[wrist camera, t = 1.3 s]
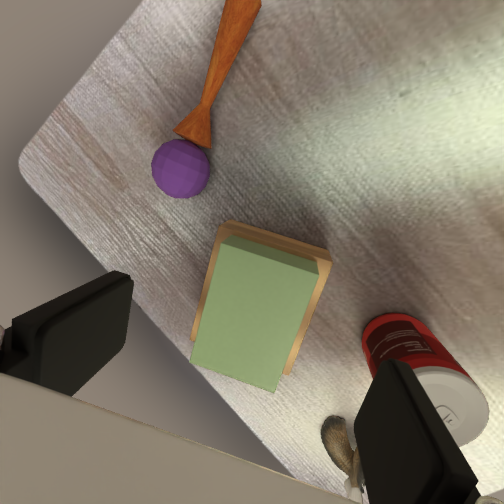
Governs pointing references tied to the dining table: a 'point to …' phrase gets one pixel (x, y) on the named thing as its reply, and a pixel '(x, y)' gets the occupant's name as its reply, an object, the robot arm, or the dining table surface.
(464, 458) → the robot arm
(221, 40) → the purple wooden maraca
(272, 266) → the sage block
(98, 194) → the dining table surface
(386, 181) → the dining table surface
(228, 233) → the maple block
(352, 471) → the eagle figurine
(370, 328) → the canned food
